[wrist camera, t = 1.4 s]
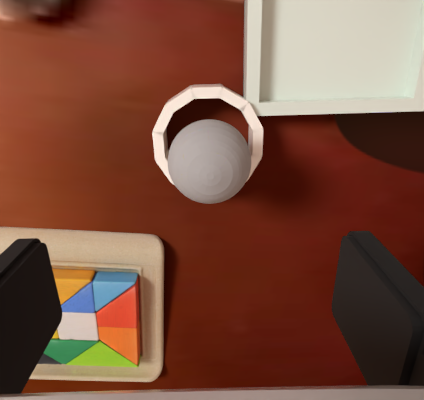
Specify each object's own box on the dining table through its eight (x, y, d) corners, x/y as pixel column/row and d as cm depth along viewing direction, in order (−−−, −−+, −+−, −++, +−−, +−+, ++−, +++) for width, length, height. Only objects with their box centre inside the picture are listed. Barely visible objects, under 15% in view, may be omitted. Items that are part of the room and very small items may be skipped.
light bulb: (247, 113, 28) (268, 142, 19) (230, 173, 30) (242, 225, 21) (183, 97, 27) (173, 118, 18) (170, 159, 29) (155, 207, 20)
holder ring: (153, 85, 27) (148, 88, 24) (259, 82, 27) (264, 85, 24) (162, 185, 30) (158, 196, 28) (256, 182, 30) (261, 193, 28)
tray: (245, -103, 22) (249, -117, 20) (453, -107, 22) (475, -121, 20) (243, 112, 28) (245, 116, 26) (409, 107, 28) (423, 111, 26)
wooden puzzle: (15, 363, 39) (-1, 391, 36) (-16, 222, 32) (-41, 241, 29) (163, 368, 40) (160, 395, 37) (166, 231, 33) (162, 251, 30)
